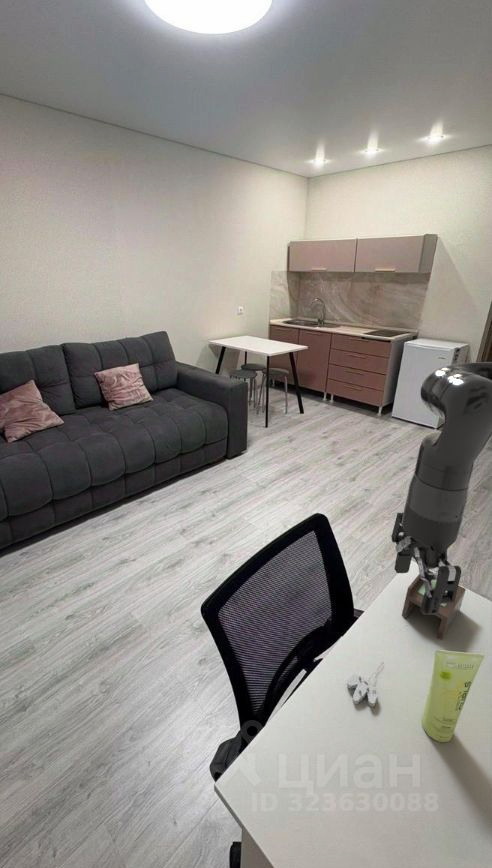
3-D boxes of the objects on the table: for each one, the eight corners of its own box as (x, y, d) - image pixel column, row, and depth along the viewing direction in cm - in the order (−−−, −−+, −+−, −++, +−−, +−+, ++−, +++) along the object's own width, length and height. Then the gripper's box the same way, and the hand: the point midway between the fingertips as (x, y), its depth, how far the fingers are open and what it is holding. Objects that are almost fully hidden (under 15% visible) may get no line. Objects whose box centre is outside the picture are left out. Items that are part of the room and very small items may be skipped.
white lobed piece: (343, 698, 78) (344, 689, 77) (355, 651, 87) (357, 642, 86) (373, 713, 75) (375, 704, 74) (383, 663, 85) (385, 654, 84)
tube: (440, 752, 70) (467, 673, 62) (413, 725, 73) (435, 649, 66) (457, 731, 73) (484, 654, 65) (430, 707, 76) (453, 632, 69)
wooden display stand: (421, 589, 104) (428, 562, 101) (459, 610, 98) (468, 582, 95) (401, 615, 96) (407, 587, 93) (441, 639, 90) (449, 610, 87)
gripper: (492, 535, 52) (463, 628, 58) (432, 479, 65) (413, 559, 71) (436, 537, 52) (413, 630, 58) (387, 480, 65) (372, 560, 71)
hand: (413, 590), depth 65 cm, fingers open, 8 cm apart
